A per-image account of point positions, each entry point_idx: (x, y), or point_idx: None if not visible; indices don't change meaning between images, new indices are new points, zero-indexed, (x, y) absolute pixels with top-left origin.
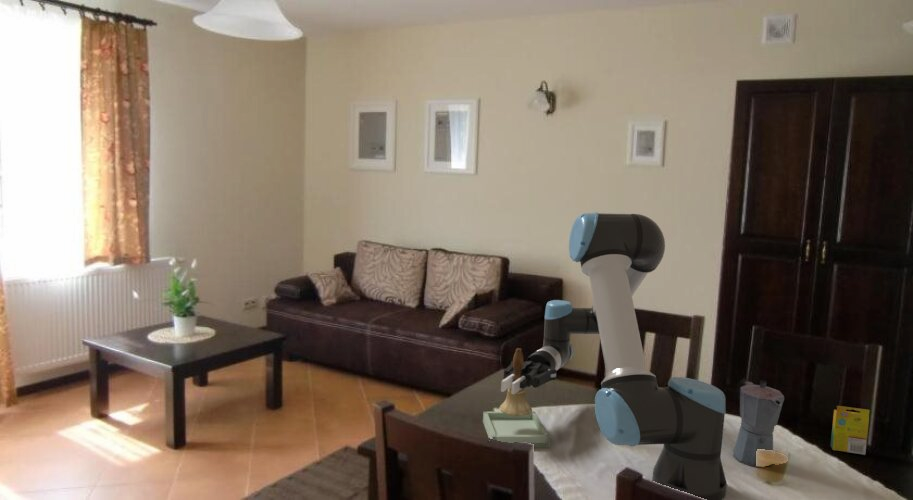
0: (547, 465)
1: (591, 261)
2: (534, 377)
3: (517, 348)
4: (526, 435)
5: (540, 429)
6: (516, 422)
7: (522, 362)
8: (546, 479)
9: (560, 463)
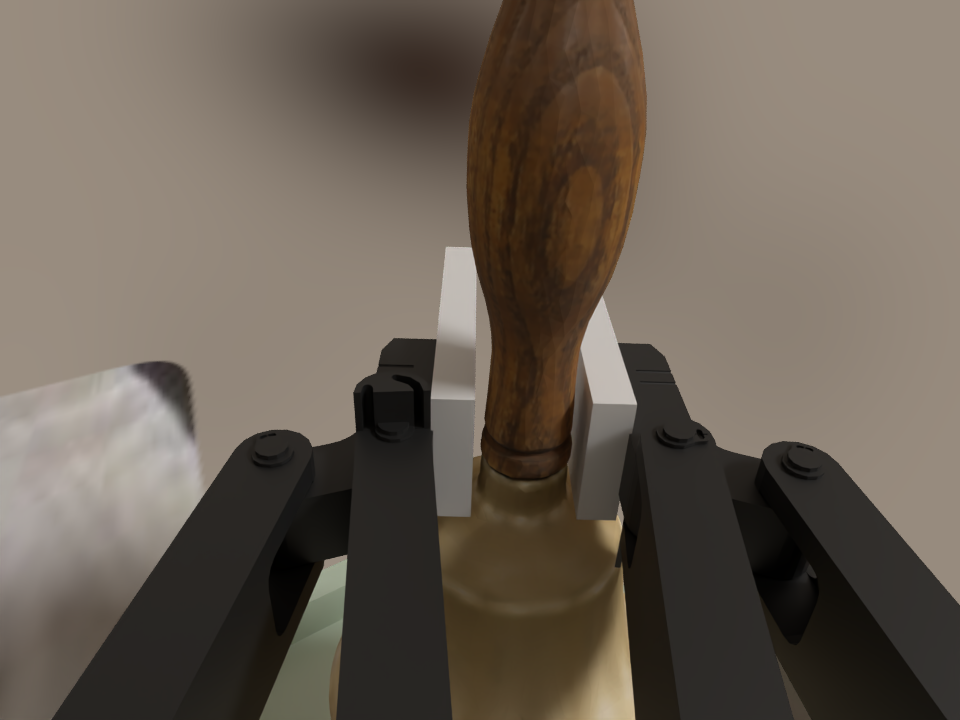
0: (170, 502)
1: None
2: (291, 447)
3: None
4: (327, 584)
5: None
6: None
7: (468, 159)
8: (172, 411)
9: (92, 547)
